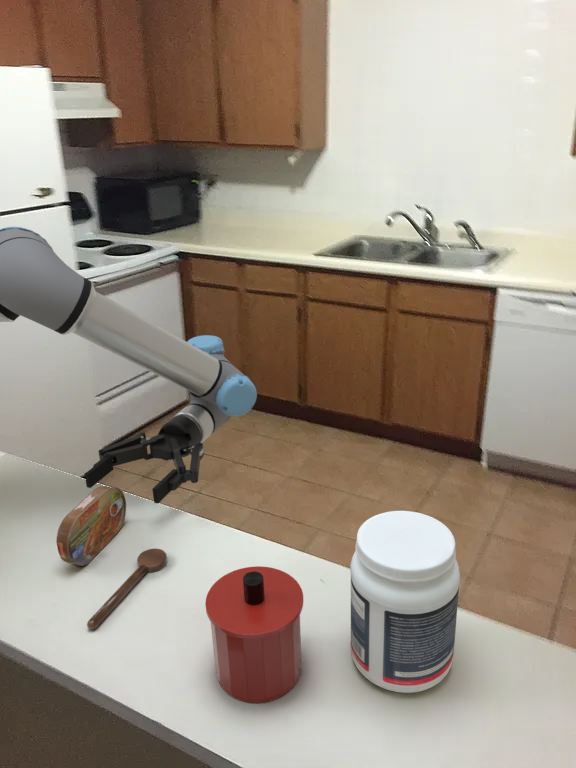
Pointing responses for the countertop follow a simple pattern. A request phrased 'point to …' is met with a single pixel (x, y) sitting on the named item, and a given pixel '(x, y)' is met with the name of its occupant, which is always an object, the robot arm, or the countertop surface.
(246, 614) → the pot lid
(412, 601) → the supplement tub
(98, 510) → the tin
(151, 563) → the spoon
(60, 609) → the countertop surface
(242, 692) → the pot
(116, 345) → the robot arm
